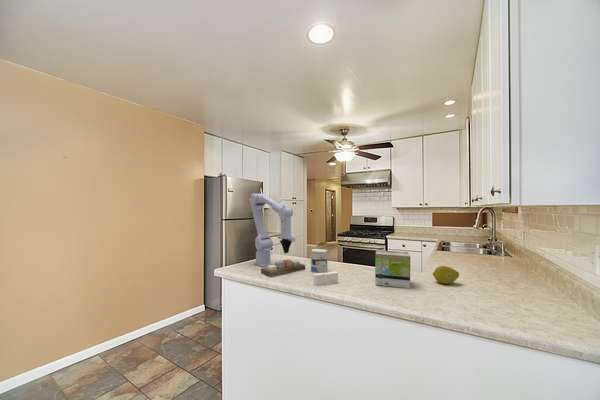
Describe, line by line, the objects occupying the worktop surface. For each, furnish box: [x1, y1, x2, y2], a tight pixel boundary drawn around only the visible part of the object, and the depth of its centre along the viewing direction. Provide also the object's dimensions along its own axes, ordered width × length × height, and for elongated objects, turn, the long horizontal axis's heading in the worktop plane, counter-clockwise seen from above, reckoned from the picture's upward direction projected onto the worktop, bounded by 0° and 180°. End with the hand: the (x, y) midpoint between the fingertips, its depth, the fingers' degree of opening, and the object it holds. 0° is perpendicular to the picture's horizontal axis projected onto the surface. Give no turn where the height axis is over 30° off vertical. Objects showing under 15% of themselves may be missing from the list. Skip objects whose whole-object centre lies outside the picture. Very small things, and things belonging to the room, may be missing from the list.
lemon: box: [432, 265, 460, 285], centre depth 117 cm, size 11×8×8 cm
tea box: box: [374, 249, 411, 289], centre depth 117 cm, size 15×10×15 cm, turn 73°
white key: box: [266, 264, 277, 271], centre depth 135 cm, size 4×4×3 cm
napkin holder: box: [313, 270, 339, 287], centre depth 119 cm, size 15×11×6 cm
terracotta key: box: [281, 258, 293, 267], centre depth 141 cm, size 4×4×3 cm
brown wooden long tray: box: [260, 263, 306, 278], centre depth 140 cm, size 10×23×2 cm, turn 129°
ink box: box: [310, 248, 328, 273], centre depth 139 cm, size 8×5×12 cm, turn 73°
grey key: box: [274, 260, 285, 269], centre depth 138 cm, size 4×4×3 cm
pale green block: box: [292, 259, 301, 266], centre depth 144 cm, size 4×4×3 cm
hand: (286, 252), depth 141 cm, fingers closed
